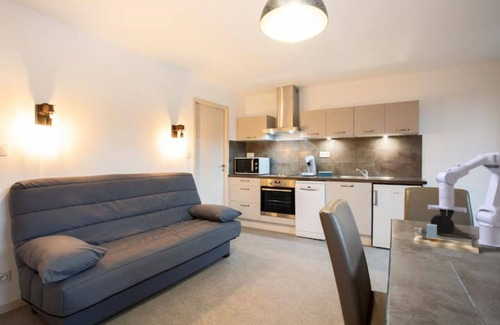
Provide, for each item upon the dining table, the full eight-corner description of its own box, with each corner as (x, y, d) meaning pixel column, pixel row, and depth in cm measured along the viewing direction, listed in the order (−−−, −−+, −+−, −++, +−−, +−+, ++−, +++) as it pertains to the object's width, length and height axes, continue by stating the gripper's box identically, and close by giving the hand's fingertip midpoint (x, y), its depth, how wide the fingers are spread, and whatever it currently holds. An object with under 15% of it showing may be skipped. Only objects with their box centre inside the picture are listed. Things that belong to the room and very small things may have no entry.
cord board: (477, 247, 119) (476, 233, 119) (478, 253, 111) (478, 238, 111) (415, 238, 134) (415, 225, 134) (413, 243, 126) (413, 229, 126)
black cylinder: (444, 230, 163) (453, 217, 161) (447, 238, 135) (458, 222, 133) (427, 221, 168) (435, 208, 166) (426, 227, 140) (437, 211, 139)
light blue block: (437, 236, 126) (436, 224, 126) (436, 238, 123) (436, 226, 123) (427, 235, 128) (427, 223, 128) (426, 237, 125) (426, 225, 125)
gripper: (427, 197, 123) (427, 225, 123) (466, 199, 114) (467, 230, 114) (428, 195, 129) (428, 222, 129) (466, 197, 120) (466, 226, 120)
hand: (446, 225), depth 122 cm, fingers closed
